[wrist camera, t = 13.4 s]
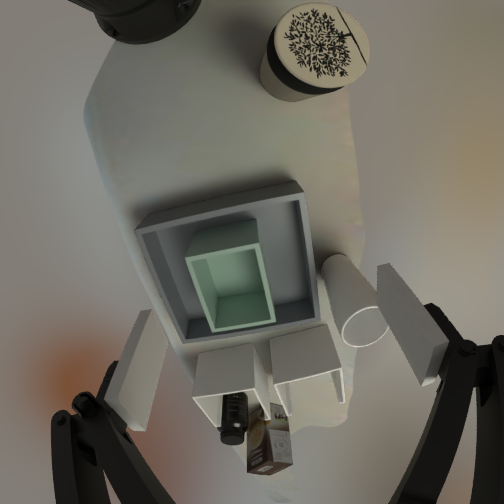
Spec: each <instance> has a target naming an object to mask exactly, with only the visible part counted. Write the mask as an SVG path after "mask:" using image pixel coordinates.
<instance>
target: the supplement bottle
mask: <svg viewBox="0 0 504 504" xmlns="http://www.w3.org/2000/svg"><path fill="white" fill-rule="evenodd" d="M248 428H249V417H248V397H247V395H246V394H245V393H244V392H237V393H231V394H224V395H223V399H222V417H221V427H217V429H218V430H219V431H220V432H221V433H220V436H221V442H222V443H224V444H227V445H239V444H242V443H243V442H244V433H245V432H246V431H247V430H248Z"/></svg>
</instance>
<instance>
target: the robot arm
mask: <svg viewBox="0 0 504 504" xmlns="http://www.w3.org/2000/svg"><path fill="white" fill-rule="evenodd" d="M68 1H70V2H73V3H75V4H77V5H79V6H81V7H83V8H85V9H87V10H89V11H91V12H93V13H94V14H95V17H96V19H97V22H98V24H99V26H100V27H101V29H102V30H103V31H104V32H105V33H106V34H107V35H108V36H110V37H112V38H114V39H116V40H118V41H120V42H123V43H127V44H146V43H151V42H155V41H158V40H161V39H163V38H165V37H167V36H169V35H171V34H173V33H174V32H176V31H177V30H179V29H180V28H181V27H183V26H184V25H185V24H186V23H187V22H188V21H189V20H190V19H191V18H192V16H193V15H194V14H195V12H196V11H197V9H198V7H199V5H200V2H201V0H68ZM376 305H377V306H378V308H379V310H380V312H381V313H382V315H383V317H384V318H385V320H386V322H387V324H388V325H389V327H390V329H391V330H392V332H393V334H394V336H395V338H396V339H397V341H398V343H399V345H400V346H401V349H402V350H403V352H404V354H405V356H406V358H407V360H408V361H409V363H410V365H411V367H412V369H413V371H414V373H415V375H416V377H417V379H418V381H419V383H420V385H421V387H422V386H425V385H427V384H430V383H432V382H435V380H436V377H437V375H438V374H439V376H440V378H441V382H440V384H439V387H438V389H437V391H436V392H437V395H436V398H435V401H434V404H433V407H432V410H431V413H430V415H429V418H428V421H427V423H426V426H425V429H424V431H423V434H422V436H421V439H420V441H419V443H418V446H417V448H416V450H415V453H414V455H413V458H412V459H411V461H410V464H409V466H408V468H407V470H406V472H405V474H404V476H403V478H402V480H401V482H400V484H399V485H398V487H397V489H396V491H395V493H394V495H393V496H392V498H391V500H390V502H389V503H388V504H436V502H437V499H438V496H439V494H440V492H441V490H442V487H443V485H444V483H445V480H446V478H447V475H448V473H449V470H450V468H451V465H452V462H453V460H454V457H455V454H456V451H457V448H458V445H459V442H460V439H461V435H462V432H463V428H464V425H465V421H466V417H467V413H468V409H469V405H470V401H471V396H472V391H473V388H474V387H476V401H477V442H476V459H475V471H474V480H473V488H472V495H471V500H470V504H504V335H499V336H496V337H495V338H494V339H493V341H492V344H488V345H480V346H477V345H476V344H475V343H474V342H473V341H470V340H464V339H463V338H462V336H461V335H460V334H459V332H458V331H457V330H456V328H455V327H454V326H453V324H452V323H451V322H450V321H449V320H448V318H447V317H446V316H445V315H444V313H443V312H442V310H441V309H440V308H439V307H437V306H436V305H434V304H433V303H429V304H426V305H422V303H421V302H420V301H419V299H418V298H417V297H416V295H415V294H414V293H413V292H412V290H411V289H410V288H409V287H408V285H407V284H406V283H405V282H404V280H403V279H402V278H401V277H400V276H399V274H398V273H397V272H396V271H395V269H394V268H393V267H392V266H391V265H390V263H388V264H383V265H379V266H377V301H376ZM167 346H168V341H167V339H166V337H165V335H164V333H163V331H162V329H161V327H160V325H159V323H158V321H157V319H156V317H155V315H154V313H153V311H152V309H150V310H144V311H140V313H139V315H138V318H137V320H136V322H135V324H134V327H133V329H132V331H131V333H130V336H129V338H128V341H127V343H126V345H125V347H124V350H123V352H122V354H121V357H120V359H119V361H114V362H113V363H112V364H111V365H110V366H109V368H108V370H107V372H106V374H105V377H104V379H103V382H102V384H101V386H100V389H99V392H98V394H97V396H96V398H95V397H94V396H93V395H92V394H91V393H90V392H82V393H79V394H78V395H77V396H76V397H75V398H74V399H73V402H72V408H73V409H74V411H75V412H76V413H77V414H75V415H70V414H69V412H68V411H66V410H60V411H58V412H57V413H55V414H54V416H53V417H52V420H51V450H52V451H51V452H52V470H53V482H54V491H55V499H56V504H111V502H110V499H109V494H108V490H107V486H106V482H105V477H104V472H105V474H106V476H107V478H108V480H109V482H110V483H111V485H112V487H113V489H114V491H115V493H116V494H117V497H118V498H119V500H120V502H121V504H176V503H175V502H174V501H173V499H172V498H171V497H170V495H169V494H168V493H167V491H166V490H165V489H164V487H163V486H162V485H161V483H160V482H159V481H158V479H157V478H156V476H155V475H154V473H153V472H152V470H151V469H150V467H149V466H148V464H147V463H146V461H145V460H144V458H143V457H142V455H141V453H140V452H139V450H138V449H137V447H136V446H135V444H134V442H133V440H132V439H131V437H130V435H129V433H128V432H127V431H126V427H127V425H128V426H129V427H130V428H131V429H132V430H133V431H146V428H147V424H148V419H149V415H150V411H151V407H152V403H153V399H154V395H155V391H156V387H157V383H158V380H159V375H160V372H161V368H162V364H163V361H164V357H165V354H166V350H167ZM103 470H104V472H103Z"/></svg>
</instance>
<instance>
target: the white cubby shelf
mask: <svg viewBox="0 0 504 504" xmlns="http://www.w3.org/2000/svg"><path fill="white" fill-rule="evenodd" d="M269 342H270V352H271V362H272V373H273V383H274V386H275V389H276V391H277V394H278V396H279V398H280V401H281V403H282V406H283V408H284V410H285V413H286V415H287V416H292V415H293V411H292V404H291V397H290V390H289V382H293V381H297V380H302V379H306V378H310V377H314V376H318V375H322V374H325V373H329V372H331V375H332V378H333V382H334V386H335V389H336V393H337V397H338V400H339V404H341V403H344V402H345V393H344V383H343V374H342V366H341V363H340V360H339V357H338V354H337V351H336V348H335V345H334V342H333V339H332V336H331V333H330V330H329V328H328V325H327V324H326V325H323V326H319V327H315V328H312V329H308V330H304V331H300V332H296V333H292V334H288V335H284V336H280V337H276V338H272V339H269ZM249 390H254V392H255V394H256V396H257V398H258V400H259V402H260V404H261V406H262V408H263V410H264V417H265V420H271V413H270V400H269V387H268V377H267V374H266V372H265V370H264V367H263V365H262V363H261V360H260V358H259V355H258V353H257V351H256V348H255V346H254V343H250V344H245V345H240V346H235V347H230V348H225V349H220V350H215V351H210V352H204V353H199V354H198V361H197V367H196V373H195V380H194V387H193V393H192V398H193V399H194V400H195V402H196V403H197V405H198V406H199V407H200V408H201V410H202V411H203V412H204V413H205V415H206V416H207V417H208V418H209V420H210V421H211V422H212V423H213V425H214V426H215V427H221V417H222V399H223V395H224V394H231V393H237V392H243V391H249Z"/></svg>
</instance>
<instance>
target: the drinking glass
mask: <svg viewBox="0 0 504 504" xmlns="http://www.w3.org/2000/svg"><path fill="white" fill-rule="evenodd" d="M321 275H322V278H323V280H324V284H325V287H326V291H327V295H328V299H329V302H330V307H331V311H332V314H333V318H334V321H335V324H336V326H337V329H338V331H339V333H340V335H341V338H342V340H343V341H344V342H345V343H346V344H347V345H349V346H352V347H364V346H368V345H370V344H372V343H374V342H376V341H378V340H379V339H380V338H381V337H383V335H384V334H385V333H386V332H387V330H388V328H389V325H388V324H387V322H386V320H385V318H384V317H383V315H382V313H381V312H380V310H379V308H378V306H377V305H376V301H377V292H376V291H375V289H374V288H373V287H372V285H371V284H370V283H369V282H368V281H367V280H366V279H365V277H364V276H363V275H362V274H361V273H360V272H359V270H358V269H357V268H356V267H355V266H354V264H353V263H352V261H351V260H350V259H349V258H348V257H347V256H345V255H341V254H336V255H333V256H330V257H329V258H327V259H326V260H325V261H324V263H323V265H322V267H321Z"/></svg>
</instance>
